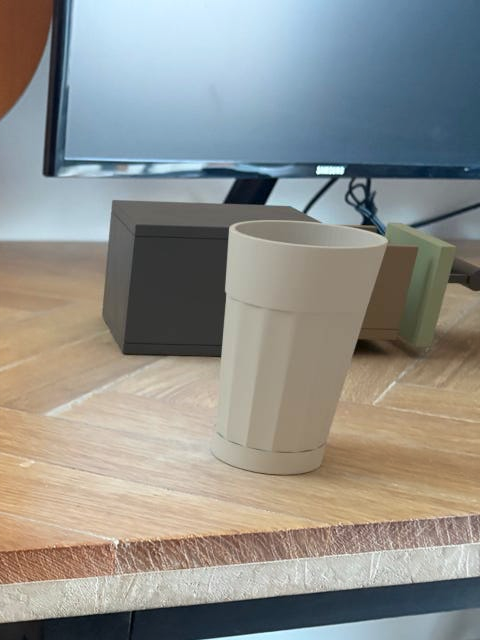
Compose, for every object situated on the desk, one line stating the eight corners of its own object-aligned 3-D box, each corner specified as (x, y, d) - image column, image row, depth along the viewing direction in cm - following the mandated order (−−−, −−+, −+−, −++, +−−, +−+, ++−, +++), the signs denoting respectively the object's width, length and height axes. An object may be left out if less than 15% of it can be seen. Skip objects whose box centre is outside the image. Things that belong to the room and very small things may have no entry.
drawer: (429, 315, 85) (452, 224, 81) (485, 349, 76) (514, 248, 72) (224, 309, 84) (238, 217, 80) (257, 343, 75) (275, 240, 71)
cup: (366, 463, 57) (421, 241, 50) (270, 490, 53) (316, 252, 47) (262, 422, 62) (300, 216, 56) (168, 443, 58) (197, 225, 52)
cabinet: (270, 320, 85) (290, 205, 80) (313, 358, 75) (339, 230, 71) (101, 315, 84) (112, 199, 80) (122, 354, 74) (135, 224, 70)
